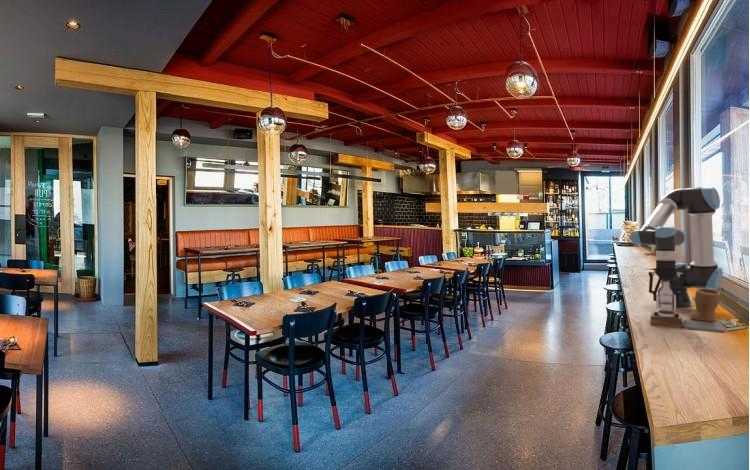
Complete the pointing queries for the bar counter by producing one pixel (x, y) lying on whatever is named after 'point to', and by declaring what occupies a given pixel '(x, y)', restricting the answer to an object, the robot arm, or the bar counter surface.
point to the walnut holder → (666, 320)
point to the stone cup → (705, 304)
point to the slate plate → (703, 325)
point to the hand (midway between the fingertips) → (666, 308)
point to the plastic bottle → (666, 299)
